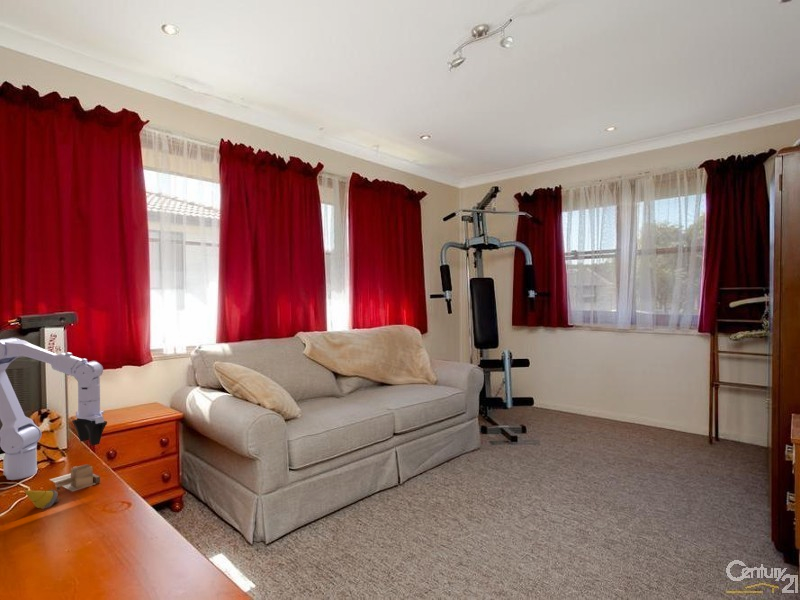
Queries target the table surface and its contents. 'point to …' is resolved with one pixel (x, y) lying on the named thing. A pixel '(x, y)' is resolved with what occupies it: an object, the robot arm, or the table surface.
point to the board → (95, 481)
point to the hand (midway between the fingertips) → (89, 442)
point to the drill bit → (42, 498)
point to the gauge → (78, 477)
